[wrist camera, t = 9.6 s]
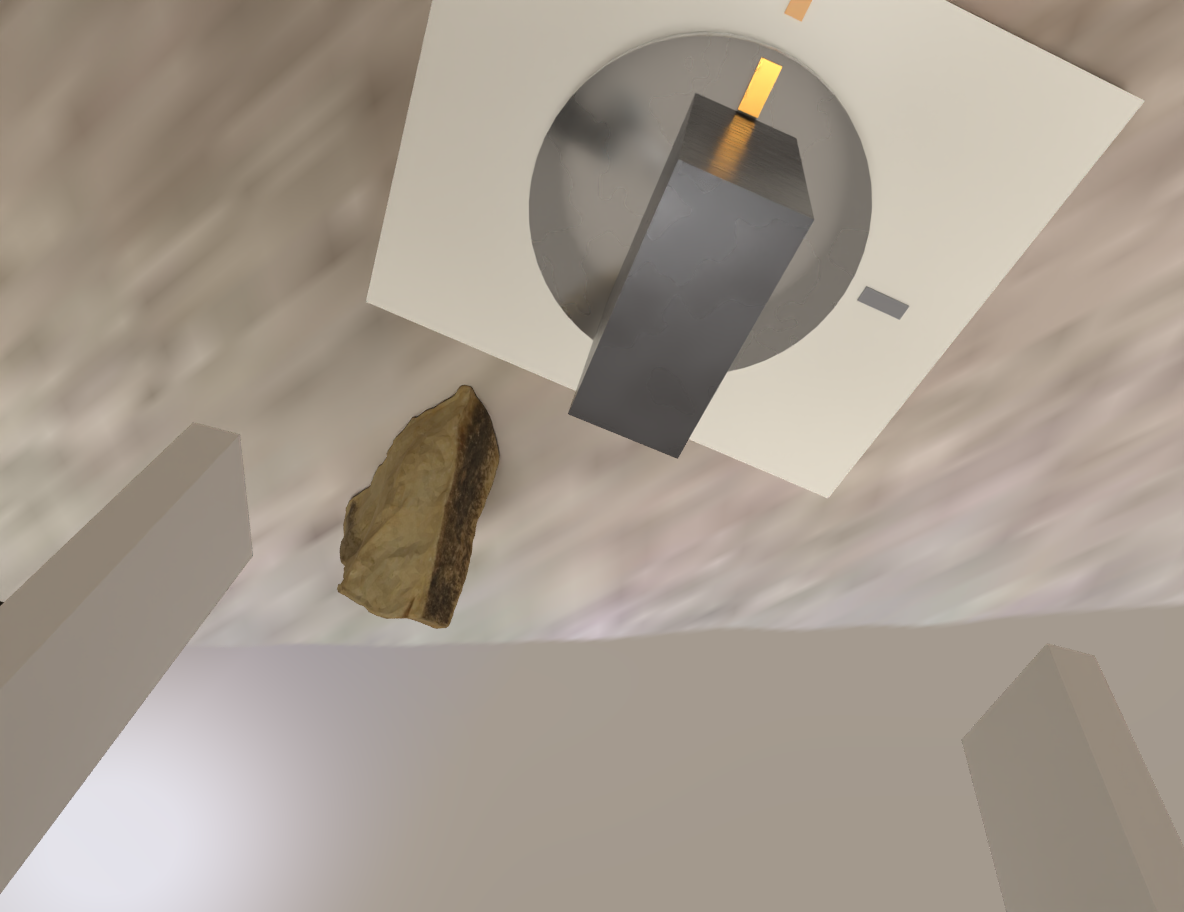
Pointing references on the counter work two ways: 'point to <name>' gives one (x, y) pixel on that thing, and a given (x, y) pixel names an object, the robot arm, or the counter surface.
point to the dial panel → (896, 165)
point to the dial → (694, 222)
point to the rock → (421, 515)
